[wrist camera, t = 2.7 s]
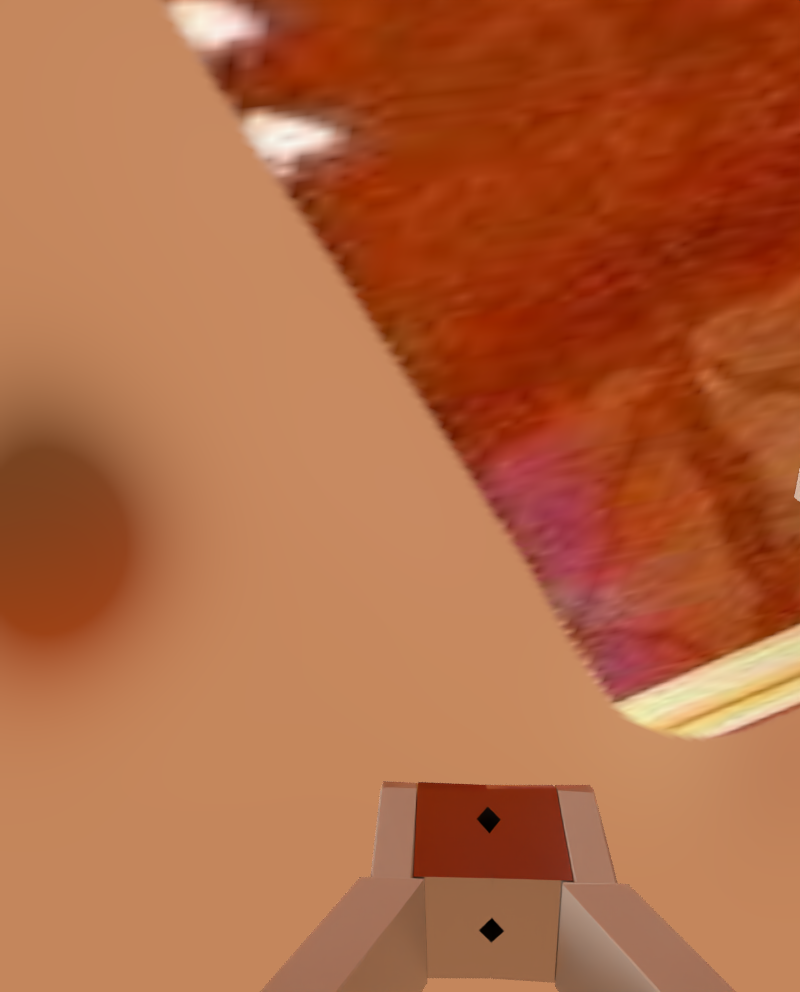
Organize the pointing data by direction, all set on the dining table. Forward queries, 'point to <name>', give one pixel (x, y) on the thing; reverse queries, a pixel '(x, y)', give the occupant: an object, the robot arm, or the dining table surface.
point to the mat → (798, 488)
